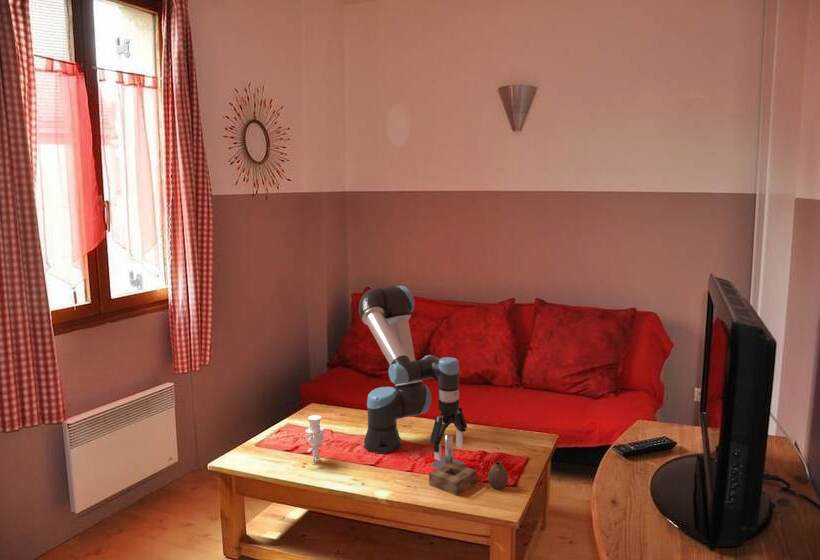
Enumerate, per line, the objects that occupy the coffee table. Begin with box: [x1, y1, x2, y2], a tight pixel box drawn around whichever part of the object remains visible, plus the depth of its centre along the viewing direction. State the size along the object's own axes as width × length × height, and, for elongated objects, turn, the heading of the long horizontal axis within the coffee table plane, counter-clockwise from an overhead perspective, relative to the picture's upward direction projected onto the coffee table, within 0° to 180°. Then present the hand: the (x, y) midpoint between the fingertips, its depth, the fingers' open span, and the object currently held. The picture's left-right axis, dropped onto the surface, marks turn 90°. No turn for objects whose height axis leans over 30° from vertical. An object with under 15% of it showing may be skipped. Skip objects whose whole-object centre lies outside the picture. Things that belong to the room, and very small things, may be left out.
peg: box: [444, 433, 454, 464], centre depth 244 cm, size 3×3×12 cm
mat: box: [429, 455, 467, 469], centre depth 246 cm, size 10×10×1 cm
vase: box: [487, 461, 509, 490], centre depth 229 cm, size 7×7×9 cm
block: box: [428, 461, 478, 497], centre depth 230 cm, size 12×12×5 cm
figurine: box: [303, 414, 326, 464], centre depth 249 cm, size 10×8×18 cm
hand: (448, 453), depth 245 cm, fingers open, 13 cm apart
